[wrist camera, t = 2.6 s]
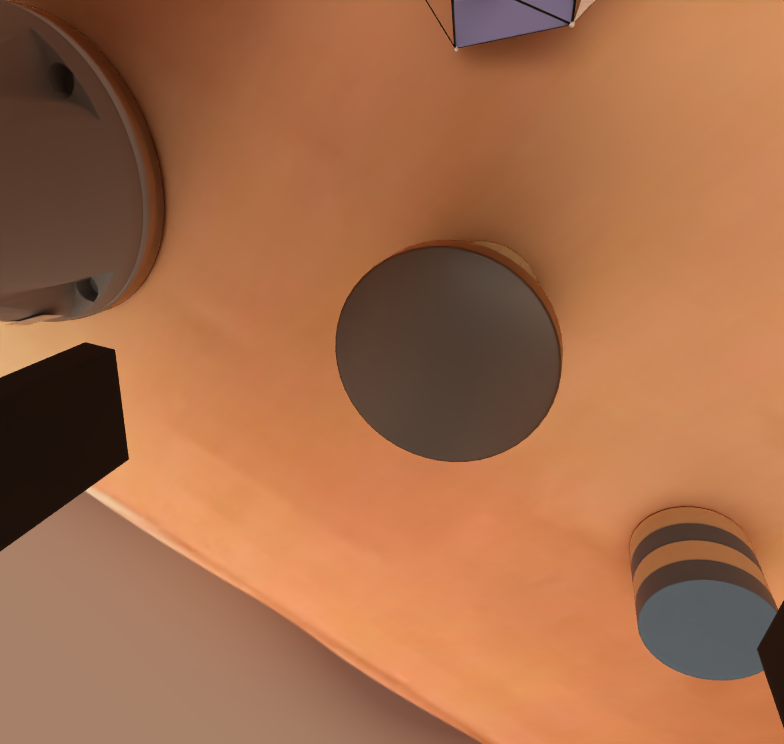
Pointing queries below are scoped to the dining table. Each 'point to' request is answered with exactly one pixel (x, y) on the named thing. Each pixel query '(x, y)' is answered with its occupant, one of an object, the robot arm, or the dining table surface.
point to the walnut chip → (450, 351)
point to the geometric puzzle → (509, 18)
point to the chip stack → (700, 594)
